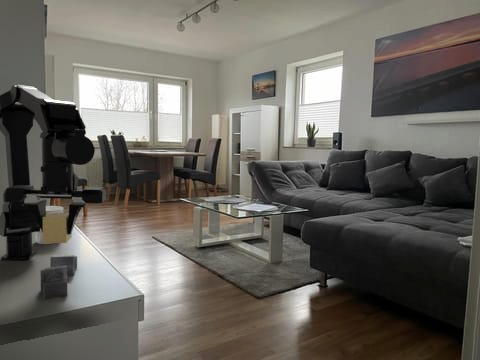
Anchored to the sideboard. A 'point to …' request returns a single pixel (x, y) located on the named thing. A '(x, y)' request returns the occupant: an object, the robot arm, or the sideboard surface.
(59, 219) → the block
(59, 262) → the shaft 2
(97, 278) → the sideboard surface
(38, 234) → the white cup
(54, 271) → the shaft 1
